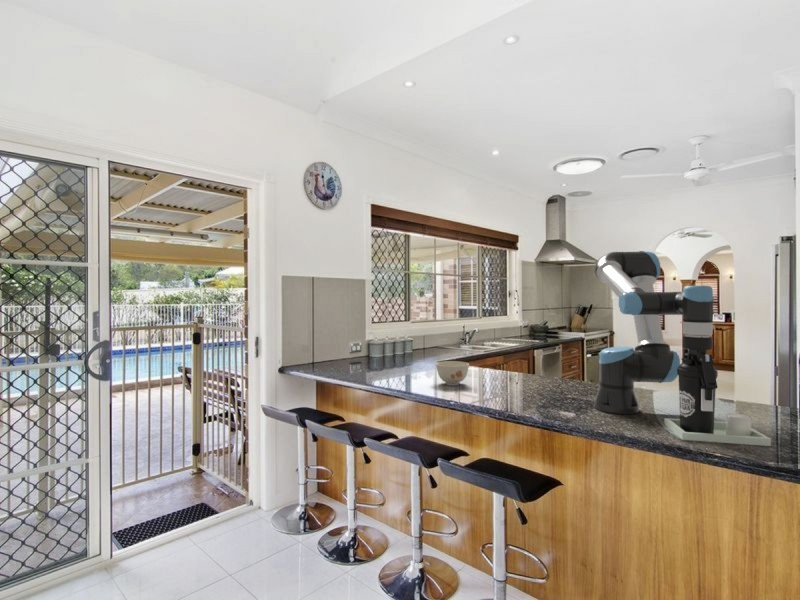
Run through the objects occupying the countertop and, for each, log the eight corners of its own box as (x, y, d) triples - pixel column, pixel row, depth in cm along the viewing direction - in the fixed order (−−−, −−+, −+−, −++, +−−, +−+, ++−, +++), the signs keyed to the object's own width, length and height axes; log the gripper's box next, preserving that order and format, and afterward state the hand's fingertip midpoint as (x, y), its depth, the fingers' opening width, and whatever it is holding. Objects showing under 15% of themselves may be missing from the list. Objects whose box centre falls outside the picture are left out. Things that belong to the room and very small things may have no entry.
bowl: (434, 387, 199) (434, 366, 199) (437, 380, 215) (437, 360, 215) (469, 388, 197) (469, 367, 197) (469, 381, 213) (469, 361, 212)
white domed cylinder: (731, 438, 126) (732, 418, 126) (721, 432, 132) (722, 412, 132) (755, 440, 124) (755, 419, 124) (744, 433, 130) (744, 414, 130)
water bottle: (669, 428, 135) (669, 356, 135) (699, 427, 136) (699, 355, 136) (693, 439, 125) (694, 361, 125) (725, 438, 126) (726, 360, 126)
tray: (682, 443, 125) (682, 432, 125) (664, 427, 140) (664, 418, 140) (770, 449, 120) (770, 438, 120) (742, 432, 134) (742, 422, 134)
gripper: (732, 340, 117) (731, 417, 118) (694, 332, 141) (693, 395, 142) (701, 340, 119) (700, 415, 119) (668, 331, 143) (668, 394, 144)
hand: (696, 404), depth 131 cm, fingers open, 13 cm apart
